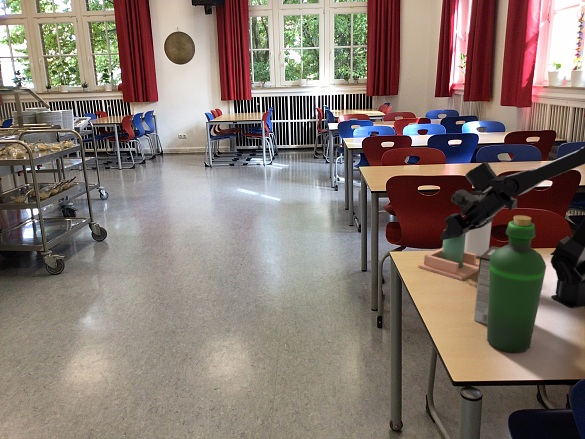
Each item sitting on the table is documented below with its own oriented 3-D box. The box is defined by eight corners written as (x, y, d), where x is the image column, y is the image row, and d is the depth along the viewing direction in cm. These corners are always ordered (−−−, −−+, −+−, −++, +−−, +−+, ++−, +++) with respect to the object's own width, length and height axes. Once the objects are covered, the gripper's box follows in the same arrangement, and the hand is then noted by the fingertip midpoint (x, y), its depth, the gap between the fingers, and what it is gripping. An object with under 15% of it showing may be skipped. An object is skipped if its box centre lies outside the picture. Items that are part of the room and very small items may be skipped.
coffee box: (485, 306, 122) (492, 245, 117) (513, 314, 118) (520, 250, 113) (472, 320, 115) (478, 255, 110) (500, 328, 111) (508, 262, 107)
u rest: (484, 267, 147) (486, 255, 146) (461, 280, 138) (462, 267, 137) (442, 255, 157) (443, 244, 156) (418, 267, 148) (418, 255, 147)
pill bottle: (492, 257, 155) (496, 211, 151) (466, 257, 155) (470, 211, 151) (483, 248, 163) (487, 205, 158) (458, 249, 163) (462, 205, 159)
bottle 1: (465, 269, 144) (469, 219, 139) (443, 268, 144) (447, 219, 140) (460, 261, 149) (464, 214, 145) (439, 261, 150) (443, 213, 146)
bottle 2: (524, 332, 109) (540, 210, 102) (543, 358, 99) (562, 225, 91) (475, 330, 110) (487, 210, 103) (489, 356, 100) (502, 225, 92)
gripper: (486, 177, 143) (449, 207, 154) (453, 187, 131) (416, 219, 142) (510, 208, 140) (471, 236, 151) (479, 221, 128) (438, 251, 138)
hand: (449, 235), depth 145 cm, fingers open, 9 cm apart
